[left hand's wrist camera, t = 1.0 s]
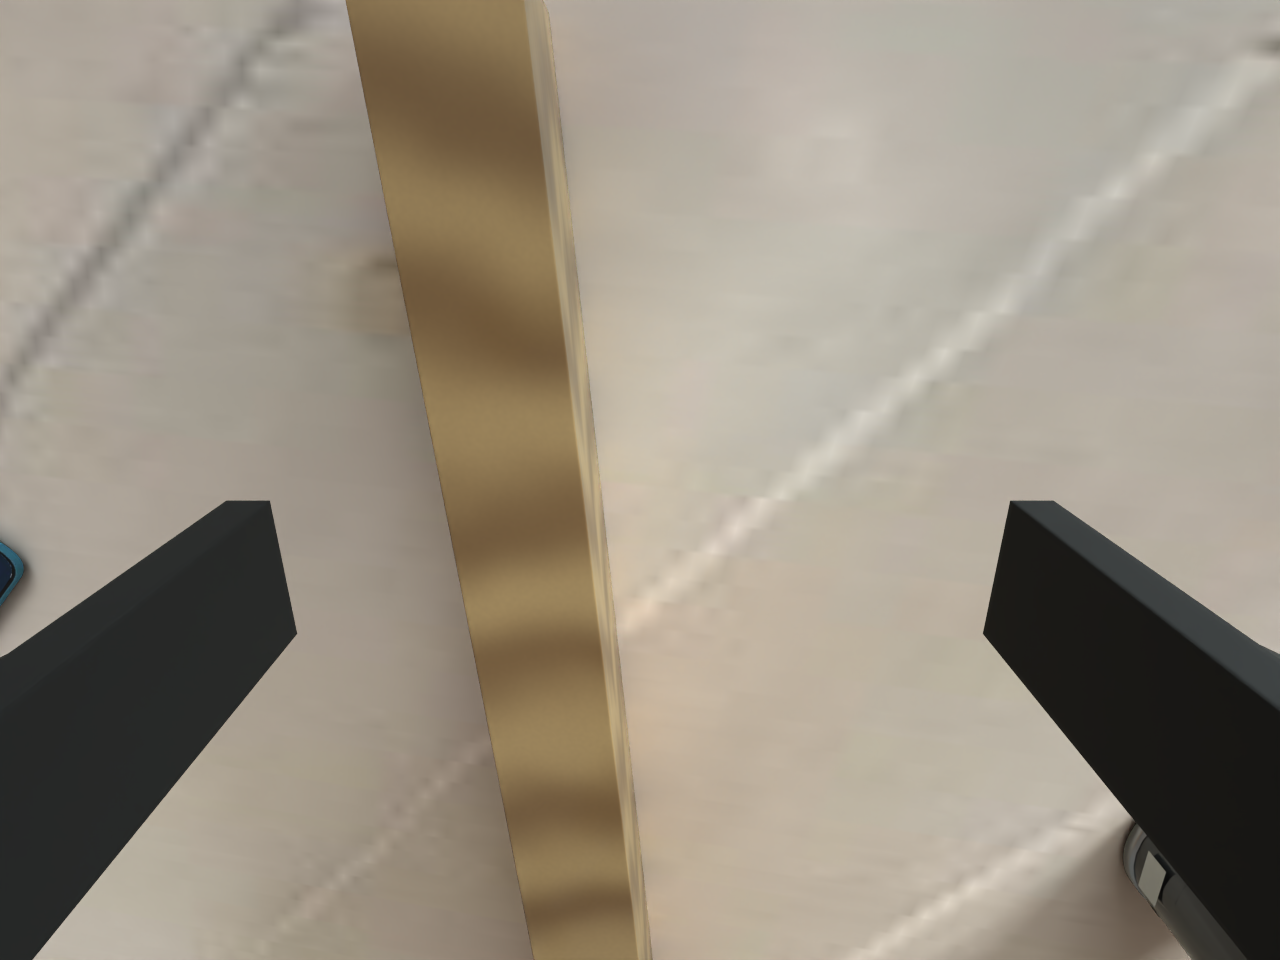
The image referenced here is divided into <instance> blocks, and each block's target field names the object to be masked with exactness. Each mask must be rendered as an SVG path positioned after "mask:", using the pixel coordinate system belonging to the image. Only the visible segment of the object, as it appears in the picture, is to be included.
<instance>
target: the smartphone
mask: <svg viewBox="0 0 1280 960" xmlns="http://www.w3.org/2000/svg"><path fill="white" fill-rule="evenodd" d="M23 571H24V568H23V563H22V561H21V559H20V558H19V557H18V555H17V554H16V553H15V552H13V551H12V550H11V549H10V548H8V547H7V546H5V545H4V544H2V543H1V542H0V606H1V605H2V603H3V602H4V600H5V599H6V598H7V596H8V595H9V593H10V592H11V591H12V589H13V588H14V587H15V585H16V584H17V582H18V581H19V580H20V578H21V577H22V575H23Z"/></svg>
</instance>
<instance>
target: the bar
mask: <svg viewBox="0 0 1280 960" xmlns="http://www.w3.org/2000/svg"><path fill="white" fill-rule="evenodd" d="M346 5H347V10H348V15H349V20H350V25H351V31H352V36H353V41H354V46H355V51H356V56H357V61H358V66H359V71H360V76H361V82H362V87H363V92H364V97H365V102H366V107H367V112H368V117H369V122H370V127H371V133H372V138H373V143H374V148H375V153H376V158H377V163H378V168H379V173H380V178H381V183H382V189H383V194H384V199H385V204H386V209H387V214H388V219H389V224H390V229H391V234H392V240H393V245H394V250H395V255H396V260H397V265H398V270H399V275H400V280H401V285H402V291H403V296H404V301H405V306H406V311H407V316H408V321H409V326H410V331H411V336H412V341H413V347H414V352H415V357H416V362H417V367H418V372H419V377H420V382H421V387H422V392H423V398H424V403H425V408H426V413H427V418H428V423H429V428H430V433H431V438H432V443H433V449H434V454H435V459H436V464H437V469H438V474H439V479H440V484H441V489H442V494H443V499H444V505H445V510H446V515H447V520H448V525H449V530H450V535H451V540H452V545H453V550H454V556H455V561H456V566H457V571H458V576H459V581H460V586H461V591H462V596H463V601H464V606H465V612H466V617H467V622H468V627H469V632H470V637H471V642H472V647H473V652H474V657H475V663H476V668H477V673H478V678H479V683H480V688H481V693H482V698H483V703H484V708H485V714H486V719H487V724H488V729H489V734H490V739H491V744H492V749H493V754H494V759H495V764H496V770H497V775H498V780H499V785H500V790H501V795H502V800H503V805H504V810H505V815H506V821H507V826H508V831H509V836H510V841H511V846H512V851H513V856H514V861H515V866H516V872H517V877H518V882H519V887H520V892H521V897H522V902H523V907H524V912H525V917H526V922H527V928H528V933H529V938H530V943H531V948H532V953H533V958H534V960H653V959H652V949H651V940H650V931H649V922H648V913H647V904H646V895H645V886H644V877H643V868H642V858H641V849H640V840H639V831H638V822H637V813H636V804H635V795H634V786H633V777H632V767H631V758H630V749H629V740H628V731H627V722H626V713H625V704H624V695H623V685H622V676H621V667H620V658H619V649H618V640H617V631H616V622H615V613H614V604H613V594H612V585H611V576H610V567H609V558H608V549H607V540H606V531H605V522H604V512H603V503H602V494H601V485H600V476H599V467H598V458H597V449H596V440H595V431H594V421H593V412H592V403H591V394H590V385H589V376H588V367H587V358H586V349H585V340H584V330H583V321H582V312H581V303H580V294H579V285H578V276H577V267H576V258H575V248H574V239H573V230H572V221H571V212H570V203H569V194H568V185H567V176H566V167H565V157H564V148H563V139H562V130H561V121H560V112H559V103H558V94H557V85H556V75H555V66H554V57H553V48H552V39H551V30H550V21H549V13H548V11H547V8H546V6H545V4H544V1H543V0H346Z"/></svg>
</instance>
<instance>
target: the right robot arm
mask: <svg viewBox="0 0 1280 960" xmlns="http://www.w3.org/2000/svg"><path fill="white" fill-rule="evenodd" d="M1123 863H1124V868H1125V871H1126V873H1127V875H1128V877H1129V879H1130V880H1131V882H1132V883H1133V884H1134V886H1135V887H1136V888H1137V890H1138V891H1139V892H1140V894H1141V895H1142V896H1143V897H1144V898H1145V899H1146V900H1147V901H1148V903H1149V904H1150V906H1151V907H1152V908H1153V910H1154V911H1155V912H1156V914H1157V915H1158V916H1159V917H1160V918H1161V919H1162V920H1163V922H1164V923H1165V924H1166V926H1167V927H1168V928H1169V930H1170V931H1171V932H1172V934H1173V935H1174V936H1175V938H1176V939H1177V940H1178V942H1179V943H1180V945H1181V946H1182V947H1183V949H1184V950H1185V951H1186V953H1187V954H1188V955H1189V957H1190V958H1191V959H1192V960H1247V958H1246V957H1245V956H1244V955H1243V953H1242V952H1241V951H1240V950H1239V948H1238V947H1237V946H1236V945H1235V944H1234V942H1233V941H1232V940H1231V939H1230V937H1229V936H1228V935H1227V934H1226V932H1225V931H1224V930H1223V929H1222V928H1221V926H1220V925H1219V924H1218V923H1217V921H1216V920H1215V919H1214V918H1213V916H1212V915H1211V914H1210V913H1209V912H1208V910H1207V909H1206V908H1205V907H1204V905H1203V904H1202V903H1201V902H1200V900H1199V899H1198V898H1197V897H1196V896H1195V894H1194V893H1193V892H1192V891H1191V889H1190V888H1189V887H1188V886H1187V884H1186V883H1185V882H1184V881H1183V880H1182V878H1181V877H1180V876H1179V875H1178V873H1177V872H1176V871H1175V870H1174V868H1173V867H1172V866H1171V865H1170V863H1169V862H1168V861H1167V860H1166V859H1165V857H1164V856H1163V855H1162V854H1161V852H1160V851H1159V850H1158V849H1157V847H1156V846H1155V845H1154V844H1153V843H1152V841H1151V840H1150V839H1149V838H1148V836H1147V835H1146V834H1145V833H1144V831H1143V830H1142V829H1141V828H1140V827H1139V825H1138V824H1137V823H1136V825H1135V826H1134V828H1133V829H1132V831H1131V832H1130V834H1129V836H1128V838H1127V841H1126V843H1125V847H1124V853H1123Z"/></svg>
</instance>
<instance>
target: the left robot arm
mask: <svg viewBox="0 0 1280 960" xmlns="http://www.w3.org/2000/svg"><path fill="white" fill-rule="evenodd" d="M296 634H297V631H296V626H295V621H294V617H293V612H292V607H291V602H290V597H289V592H288V587H287V582H286V578H285V573H284V568H283V563H282V558H281V553H280V548H279V544H278V539H277V534H276V529H275V524H274V519H273V514H272V509H271V505H270V501H225V502H224V503H223V504H221V505H220V506H218V507H217V508H215V509H214V510H213V511H211V512H210V513H208V514H207V515H205V516H204V517H203V518H201V519H200V520H198V521H197V522H195V523H194V524H193V525H191V526H190V527H188V528H187V529H185V530H184V531H183V532H181V533H180V534H178V535H177V536H175V537H174V538H173V539H171V540H170V541H168V542H167V543H165V544H164V545H163V546H161V547H160V548H158V549H157V550H155V551H154V552H153V553H151V554H150V555H148V556H147V557H145V558H144V559H143V560H141V561H140V562H138V563H137V564H135V565H134V566H133V567H131V568H130V569H128V570H127V571H125V572H124V573H123V574H121V575H120V576H118V577H117V578H115V579H114V580H113V581H111V582H110V583H108V584H107V585H105V586H104V587H103V588H101V589H100V590H98V591H97V592H95V593H94V594H93V595H91V596H90V597H88V598H87V599H85V600H84V601H83V602H81V603H80V604H78V605H77V606H75V607H74V608H73V609H71V610H70V611H68V612H67V613H65V614H64V615H63V616H61V617H60V618H58V619H57V620H55V621H54V622H53V623H51V624H50V625H48V626H47V627H45V628H44V629H43V630H41V631H40V632H38V633H37V634H35V635H34V636H33V637H31V638H30V639H28V640H27V641H25V642H24V643H23V644H21V645H20V646H18V647H17V648H15V649H14V650H13V651H11V652H10V653H8V654H6V655H4V656H2V657H0V960H33V958H34V957H35V956H36V955H37V953H38V952H39V951H40V950H41V948H42V947H43V946H44V945H45V944H46V942H47V941H48V940H49V939H50V937H51V936H52V935H53V934H54V932H55V931H56V930H57V929H58V928H59V926H60V925H61V924H62V923H63V921H64V920H65V919H66V918H67V916H68V915H69V914H70V913H71V912H72V910H73V909H74V908H75V907H76V905H77V904H78V903H79V902H80V900H81V899H82V898H83V897H84V896H85V894H86V893H87V892H88V891H89V889H90V888H91V887H92V886H93V884H94V883H95V882H96V881H97V880H98V878H99V877H100V876H101V875H102V873H103V872H104V871H105V870H106V868H107V867H108V866H109V865H110V863H111V862H112V861H113V860H114V859H115V857H116V856H117V855H118V854H119V852H120V851H121V850H122V849H123V847H124V846H125V845H126V844H127V843H128V841H129V840H130V839H131V838H132V836H133V835H134V834H135V833H136V831H137V830H138V829H139V828H140V827H141V825H142V824H143V823H144V822H145V820H146V819H147V818H148V817H149V815H150V814H151V813H152V812H153V811H154V809H155V808H156V807H157V806H158V804H159V803H160V802H161V801H162V799H163V798H164V797H165V796H166V795H167V793H168V792H169V791H170V790H171V788H172V787H173V786H174V785H175V783H176V782H177V781H178V780H179V779H180V777H181V776H182V775H183V774H184V772H185V771H186V770H187V769H188V767H189V766H190V765H191V764H192V762H193V761H194V760H195V759H196V758H197V756H198V755H199V754H200V753H201V751H202V750H203V749H204V748H205V746H206V745H207V744H208V743H209V742H210V740H211V739H212V738H213V737H214V735H215V734H216V733H217V732H218V730H219V729H220V728H221V727H222V726H223V724H224V723H225V722H226V721H227V719H228V718H229V717H230V716H231V714H232V713H233V712H234V711H235V710H236V708H237V707H238V706H239V705H240V703H241V702H242V701H243V700H244V698H245V697H246V696H247V695H248V694H249V692H250V691H251V690H252V689H253V687H254V686H255V685H256V684H257V682H258V681H259V680H260V679H261V678H262V676H263V675H264V674H265V673H266V671H267V670H268V669H269V668H270V666H271V665H272V664H273V663H274V661H275V660H276V659H277V658H278V657H279V655H280V654H281V653H282V652H283V650H284V649H285V648H286V647H287V645H288V644H289V643H290V642H291V641H292V639H293V638H294V637H295V636H296ZM983 634H984V636H985V637H986V638H987V639H988V641H989V642H990V643H991V644H992V645H993V647H994V648H995V649H996V650H997V652H998V653H999V654H1000V655H1001V657H1002V658H1003V659H1004V660H1005V662H1006V663H1007V664H1008V665H1009V666H1010V668H1011V669H1012V670H1013V671H1014V673H1015V674H1016V675H1017V676H1018V678H1019V679H1020V680H1021V681H1022V682H1023V684H1024V685H1025V686H1026V687H1027V689H1028V690H1029V691H1030V692H1031V694H1032V695H1033V696H1034V697H1035V698H1036V700H1037V701H1038V702H1039V703H1040V705H1041V706H1042V707H1043V708H1044V710H1045V711H1046V712H1047V713H1048V714H1049V716H1050V717H1051V718H1052V719H1053V721H1054V722H1055V723H1056V724H1057V726H1058V727H1059V728H1060V729H1061V730H1062V732H1063V733H1064V734H1065V735H1066V737H1067V738H1068V739H1069V740H1070V742H1071V743H1072V744H1073V745H1074V746H1075V748H1076V749H1077V750H1078V751H1079V753H1080V754H1081V755H1082V756H1083V758H1084V759H1085V760H1086V761H1087V762H1088V764H1089V765H1090V766H1091V767H1092V769H1093V770H1094V771H1095V772H1096V774H1097V775H1098V776H1099V777H1100V779H1101V780H1102V781H1103V782H1104V783H1105V785H1106V786H1107V787H1108V788H1109V790H1110V791H1111V792H1112V793H1113V795H1114V796H1115V797H1116V798H1117V799H1118V801H1119V802H1120V803H1121V804H1122V806H1123V807H1124V808H1125V809H1126V811H1127V812H1128V813H1129V814H1130V815H1131V817H1132V818H1133V819H1134V820H1135V822H1136V823H1137V824H1138V825H1139V827H1140V828H1141V829H1142V830H1143V831H1144V833H1145V834H1146V835H1147V836H1148V838H1149V839H1150V840H1151V841H1152V843H1153V844H1154V845H1155V846H1156V847H1157V849H1158V850H1159V851H1160V852H1161V854H1162V855H1163V856H1164V857H1165V859H1166V860H1167V861H1168V862H1169V863H1170V865H1171V866H1172V867H1173V868H1174V870H1175V871H1176V872H1177V873H1178V875H1179V876H1180V877H1181V878H1182V880H1183V881H1184V882H1185V883H1186V884H1187V886H1188V887H1189V888H1190V889H1191V891H1192V892H1193V893H1194V894H1195V896H1196V897H1197V898H1198V899H1199V900H1200V902H1201V903H1202V904H1203V905H1204V907H1205V908H1206V909H1207V910H1208V912H1209V913H1210V914H1211V915H1212V916H1213V918H1214V919H1215V920H1216V921H1217V923H1218V924H1219V925H1220V926H1221V928H1222V929H1223V930H1224V931H1225V932H1226V934H1227V935H1228V936H1229V937H1230V939H1231V940H1232V941H1233V942H1234V944H1235V945H1236V946H1237V947H1238V948H1239V950H1240V951H1241V952H1242V953H1243V955H1244V956H1245V957H1246V958H1247V960H1280V654H1278V653H1276V652H1274V651H1272V650H1269V649H1267V648H1265V647H1263V646H1261V645H1259V644H1257V643H1256V642H1255V641H1253V640H1252V639H1250V638H1249V637H1247V636H1246V635H1245V634H1243V633H1242V632H1240V631H1239V630H1237V629H1236V628H1235V627H1233V626H1232V625H1230V624H1229V623H1227V622H1226V621H1225V620H1223V619H1222V618H1220V617H1219V616H1217V615H1216V614H1215V613H1213V612H1212V611H1210V610H1209V609H1207V608H1206V607H1205V606H1203V605H1202V604H1200V603H1199V602H1197V601H1196V600H1195V599H1193V598H1192V597H1190V596H1189V595H1187V594H1186V593H1185V592H1183V591H1182V590H1180V589H1179V588H1177V587H1176V586H1175V585H1173V584H1172V583H1170V582H1169V581H1167V580H1166V579H1165V578H1163V577H1162V576H1160V575H1159V574H1157V573H1156V572H1155V571H1153V570H1152V569H1150V568H1149V567H1147V566H1146V565H1145V564H1143V563H1142V562H1140V561H1139V560H1137V559H1136V558H1135V557H1133V556H1132V555H1130V554H1129V553H1127V552H1126V551H1125V550H1123V549H1122V548H1120V547H1119V546H1117V545H1116V544H1115V543H1113V542H1112V541H1110V540H1109V539H1107V538H1106V537H1105V536H1103V535H1102V534H1100V533H1099V532H1097V531H1096V530H1095V529H1093V528H1092V527H1090V526H1089V525H1087V524H1086V523H1085V522H1083V521H1082V520H1080V519H1079V518H1077V517H1076V516H1075V515H1073V514H1072V513H1070V512H1069V511H1067V510H1066V509H1065V508H1063V507H1062V506H1060V505H1059V504H1057V503H1056V502H1055V501H1010V505H1009V509H1008V514H1007V519H1006V524H1005V529H1004V534H1003V539H1002V543H1001V548H1000V553H999V558H998V563H997V568H996V573H995V578H994V582H993V587H992V592H991V597H990V602H989V607H988V612H987V617H986V621H985V626H984V631H983Z"/></svg>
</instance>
